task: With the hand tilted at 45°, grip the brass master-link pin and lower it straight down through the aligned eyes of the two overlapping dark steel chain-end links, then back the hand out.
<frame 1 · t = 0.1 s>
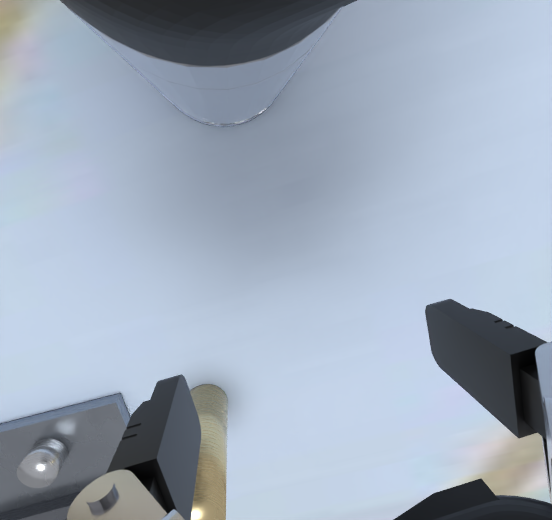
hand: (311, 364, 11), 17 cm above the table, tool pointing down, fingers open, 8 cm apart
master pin: (206, 402, 31), on the table
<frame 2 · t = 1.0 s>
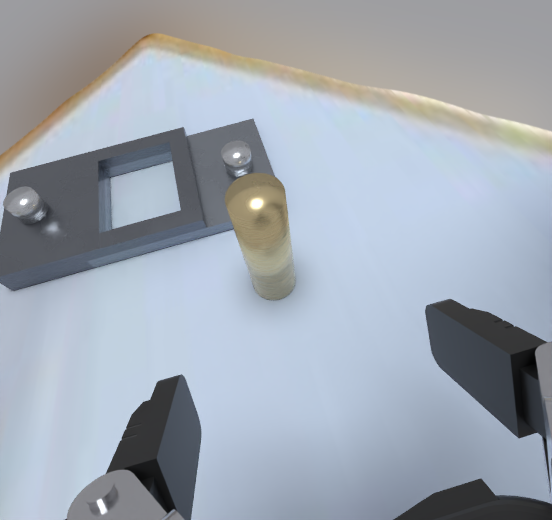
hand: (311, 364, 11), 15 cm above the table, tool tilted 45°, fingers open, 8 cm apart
chain end lower: (147, 200, 37), on the table
chain end upper: (147, 200, 37), on the table
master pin: (274, 280, 31), on the table
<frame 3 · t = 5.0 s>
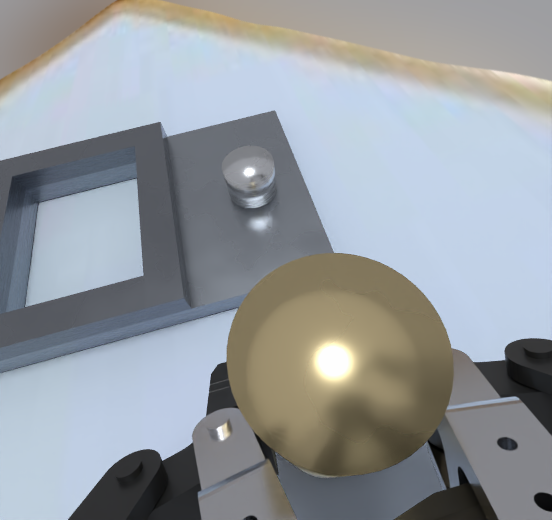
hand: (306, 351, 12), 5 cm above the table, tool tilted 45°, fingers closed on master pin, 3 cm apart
chain end lower: (93, 244, 21), on the table
chain end upper: (93, 244, 21), on the table
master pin: (322, 428, 15), on the table, touching gripper
when the fingers open (6 cm above the table, at t = 10.8 s): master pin drops 1 cm, resting in chain end lower.
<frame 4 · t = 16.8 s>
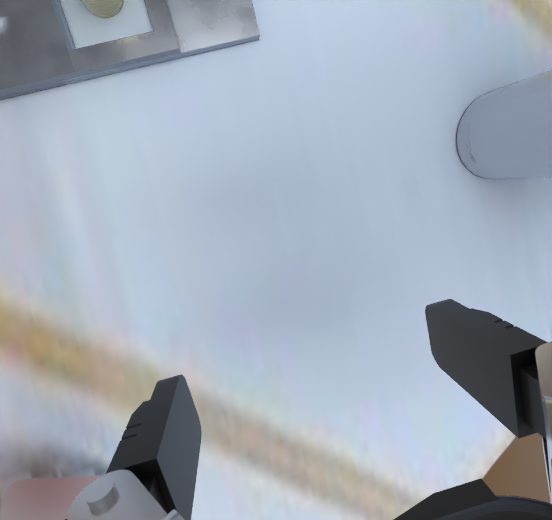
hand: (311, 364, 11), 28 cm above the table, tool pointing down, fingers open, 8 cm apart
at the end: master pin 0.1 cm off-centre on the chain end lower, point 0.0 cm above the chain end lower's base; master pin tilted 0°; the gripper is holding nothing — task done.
